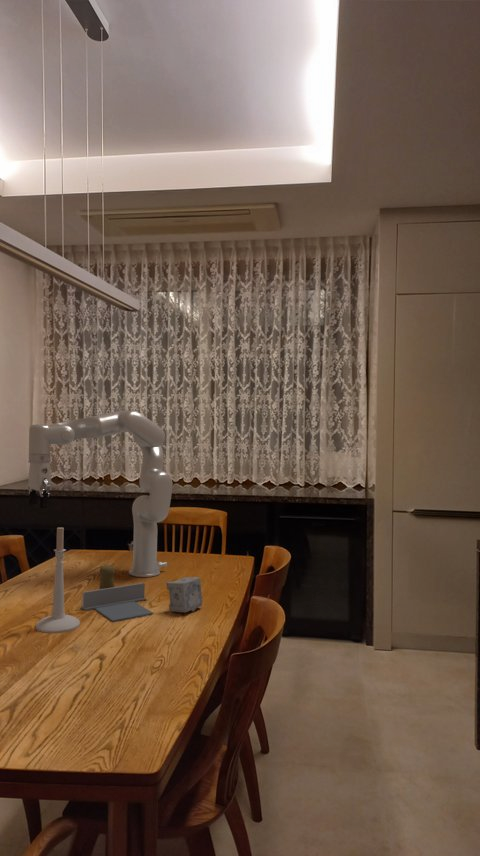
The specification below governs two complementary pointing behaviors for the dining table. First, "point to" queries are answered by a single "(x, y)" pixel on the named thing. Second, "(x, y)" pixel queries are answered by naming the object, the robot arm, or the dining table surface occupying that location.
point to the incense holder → (185, 594)
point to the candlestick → (58, 598)
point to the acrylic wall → (113, 596)
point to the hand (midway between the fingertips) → (38, 506)
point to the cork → (107, 577)
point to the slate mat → (123, 611)
